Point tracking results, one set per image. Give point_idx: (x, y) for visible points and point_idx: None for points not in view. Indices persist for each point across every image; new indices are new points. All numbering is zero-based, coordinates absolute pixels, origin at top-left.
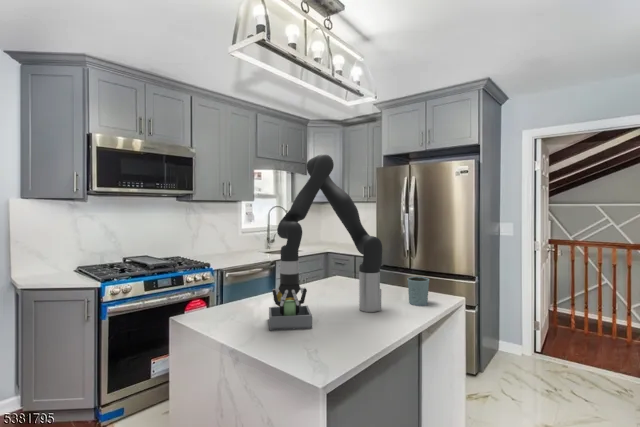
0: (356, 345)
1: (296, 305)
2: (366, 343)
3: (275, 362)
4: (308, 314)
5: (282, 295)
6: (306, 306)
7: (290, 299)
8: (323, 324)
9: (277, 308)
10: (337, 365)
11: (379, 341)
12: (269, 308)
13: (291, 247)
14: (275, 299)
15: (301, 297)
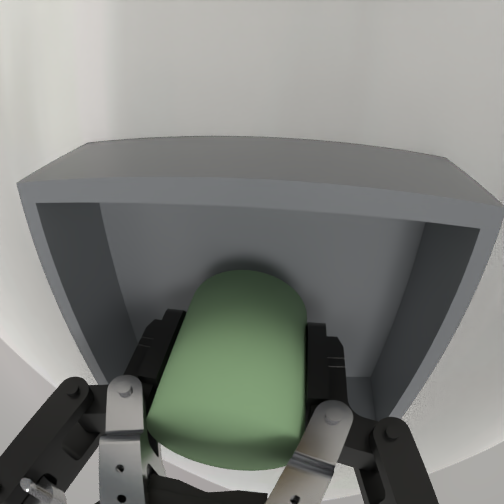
0: (423, 460)
1: (307, 424)
2: (453, 452)
3: (202, 476)
4: (398, 378)
5: (107, 474)
6: (478, 245)
7: None
8: (465, 328)
9: (100, 196)
10: (326, 495)
11: (487, 442)
12: (32, 231)
13: None
14: (72, 450)
15: (384, 480)
